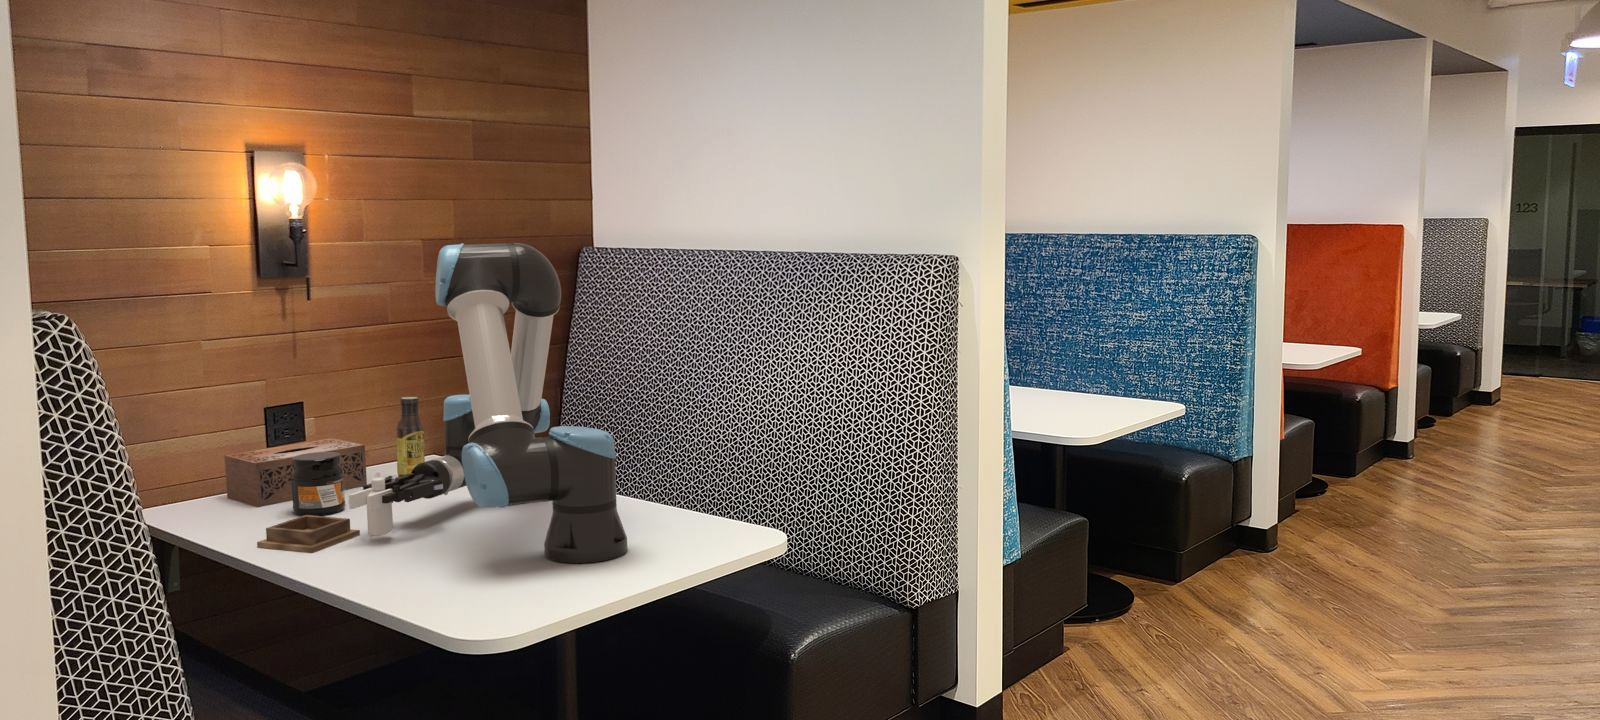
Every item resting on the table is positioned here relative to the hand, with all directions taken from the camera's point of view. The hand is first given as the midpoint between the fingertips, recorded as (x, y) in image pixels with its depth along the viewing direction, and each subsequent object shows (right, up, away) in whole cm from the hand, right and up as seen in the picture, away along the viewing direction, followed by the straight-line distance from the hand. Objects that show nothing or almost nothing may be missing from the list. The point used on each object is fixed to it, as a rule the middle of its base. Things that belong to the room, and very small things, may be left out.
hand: (359, 502), depth 221 cm
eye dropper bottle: (+2, -7, +6) cm, 9 cm away
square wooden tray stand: (-12, -8, +6) cm, 16 cm away
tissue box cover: (-32, -4, +48) cm, 58 cm away
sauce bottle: (-10, -2, +59) cm, 60 cm away
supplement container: (-20, -6, +30) cm, 36 cm away
